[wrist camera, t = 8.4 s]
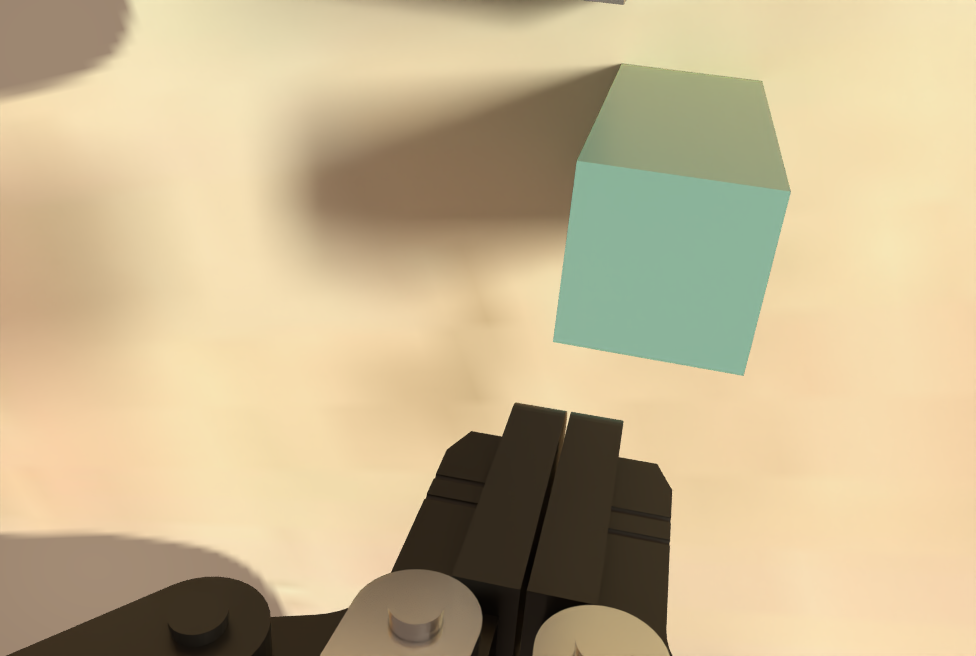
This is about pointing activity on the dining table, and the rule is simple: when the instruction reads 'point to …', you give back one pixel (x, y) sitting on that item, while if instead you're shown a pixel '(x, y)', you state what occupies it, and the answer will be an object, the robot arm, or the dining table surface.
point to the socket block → (610, 1)
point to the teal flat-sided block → (673, 220)
